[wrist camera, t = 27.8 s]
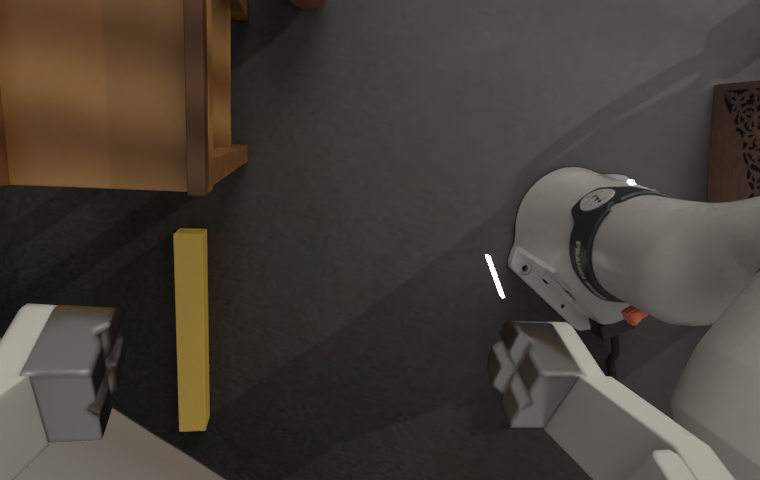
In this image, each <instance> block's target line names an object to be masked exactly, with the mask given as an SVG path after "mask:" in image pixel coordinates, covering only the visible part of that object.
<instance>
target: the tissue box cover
mask: <svg viewBox="0 0 760 480" xmlns="http://www.w3.org/2000/svg"><path fill="white" fill-rule="evenodd" d="M758 196H760V81H750V82H740V83H730V84H721V85H715V86H714V101H713V116H712V132H711V147H710V162H709V177H708V192H707V203H724V202H733V201H738V200H744V199H749V198H753V197H758Z"/></svg>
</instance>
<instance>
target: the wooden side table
mask: <svg viewBox="0 0 760 480" xmlns="http://www.w3.org/2000/svg"><path fill="white" fill-rule="evenodd" d="M231 19H235V20H245V21H248V20H249V3H248V0H0V187H1V186H6V185H30V186H55V187H80V188H105V189H130V190H155V191H180V192H187V194H188V195H194V196H205V195H206V194H207V193H209V192H210V191H212V190H213V185H214V184H216V183H217V182H218V181H220V180H221V179H223V178H224V177H226V176H227V175H229V174H230V173H231V172H233V171H234V170H236V169H237V168H239V167H240V166H242V165H243V164H245V163H246V162H247V161H248V145H235V144H231Z"/></svg>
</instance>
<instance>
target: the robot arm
mask: <svg viewBox="0 0 760 480" xmlns="http://www.w3.org/2000/svg"><path fill="white" fill-rule="evenodd" d="M485 257H486V259H487V262H488V265H489V268H490V270H491V273H492V276H493V279H494V281H495V284H496V287H497V290H498V292H499V295H500V297H502V298H505V296H504V293H503V290H502V288H501V285H500V282H499V279H498V277H497V274H496V271H495V268H494V265H493V263H492V260H491V257H490V256H489V255H488V254H486V255H485ZM524 265H526V268H525V269H524V270H522V267H523V266H524ZM508 266H509V268H510V269H511V270H512V271H513V272H514V273H515V274H517V275H518V276H519V277H520V278H521V279H522V280H523V281H524V282H525V283H526V284H527V285H528V286H529V287H530V288H531V289H533V290H534V291H535V292H536V293H537V294H538V295H539V296H540V297H541V298H542V299H543V300H544V301H545V302H546V303H547V304H548V305H550V306H551V307H552V308H553V309H554V310H555V311H556V312H557V313H558V314H559V315H560V316H561V317H562V318H563V319H564V320H565V321H567V322H568V323H569V324H568V323H567V322H535V321H508V322H506V323H505V324H504V325H503V327H502V329H501V330H500V332H499V333H500V335H501V338H502V340H500V341H499V342H497V343H496V344H495V345H493V347H492V349H491V351H490V353H489V356H488V372H489V377H490V379H491V382H492V384H493V386H494V387H495V388H496V389H498V390H499V391H500V392H501V393H502V398H501V401H500V403H501V405H502V408H503V410H504V412H505V415H506V417H507V419H508V422H509V424H510V426H511V428H545V429H544V430H545V431H546V432H547V433H548V434H549V435H550V436H551V437H552V438H553V439H554V440H555V441H556V442H557V443H558V444H559V445H560V446H561V447H562V448H563V449H564V450H565V451H566V452H567V453H568V454H569V455H570V457H571V458H572V459H573V460H574V461H575V462H576V463H577V464H578V465H579V466H580V467H581V468H582V469H583V470H584V471H585V472H586V473H587V474H588V475H589V476H590V477H591V478H592V479H593V480H760V196H758V197H753V198H749V199H744V200H738V201H733V202H724V203H705V202H695V201H687V200H680V199H673V198H672V197H670V196H668V195H666V194H664V193H661V192H657V191H656V190H653V189H649V188H646V187H643V186H639V185H636V184H635V181H634V180H630V179H629V178H628V177H627V176H624V175H621V174H606V175H603V174H599V173H596V172H594V171H591V170H589V169H585V168H580V167H567V168H562V169H558V170H555V171H553V172H551V173H549V174H547V175H545V176H544V177H542V178H541V179H540V180H539V181H537V182H536V183H535V184H534V185H533V186H532V187H531V189H530V190H529V191H528V192H527V194H526V195H525V197H524V199H523V200H522V202H521V205H520V207H519V210H518V213H517V217H516V224H515V242H514V245H513V247H512V249H511V252H510V254H509V258H508ZM648 314H649V315H651V316H652V317H654V318H656V319H658V320H660V321H663V322H665V323H669V324H674V325H682V326H703V325H709V324H713V325H712V327H711V328H710V329H709V330H708V331H707V333H706V334H705V335H704V336H703V338H702V339H701V340H700V341H699V342H698V344H697V345H696V347H695V349H694V351H693V352H692V354H691V356H690V358H689V360H688V362H687V364H686V366H685V368H684V370H683V372H682V374H681V376H680V378H679V380H678V382H677V385H676V387H675V389H674V391H673V393H672V395H671V398H670V400H669V403H670V408H671V413H672V416H673V419H674V421H673V420H672V419H670V418H669V417H668V416H666V415H665V414H663V413H662V412H660V411H659V410H658V409H656V408H655V407H653V406H652V405H651V404H649V403H648V402H646V401H645V400H644V399H642V398H641V397H639V396H638V395H636V394H635V393H634V392H632V391H631V390H629V389H628V388H627V387H625V386H624V385H622V384H621V383H620V382H618V381H617V380H616V373H615V359H617V358H618V356H619V338H618V334H620V333H623V332H625V331H628V330H630V329H632V328H635V325H637V324H638V323H639V322H640V320H641V319H643V318H644V317H647V316H648ZM121 324H122V319H121V313H120V310H119V309H118V308H108V307H90V306H72V305H43V304H26V305H25V306H23V307H22V308H21V309H20V310H19V311H18V313H17V314H16V316H15V318H14V319H13V321H12V323H11V324H10V326H9V328H8V329H7V331H6V333H5V334H4V336H3V338H2V339H1V341H0V480H14V479H15V478H16V477H17V476H18V475H19V474H20V473H21V472H22V471H23V470H24V469H25V468H26V467H27V466H28V465H29V464H30V463H31V462H32V461H33V460H34V459H35V458H36V457H37V456H38V455H39V454H40V453H41V452H42V451H43V450H44V449H46V448H47V447H48V443H50V442H68V441H86V440H102V438H103V435H104V432H105V429H106V425H107V422H108V419H109V416H110V413H111V410H112V404H111V397H110V394H111V393H112V392H113V391H115V390H116V389H117V388H118V387H119V383H120V380H121V376H122V372H123V366H124V359H125V345H124V339H123V338H122V337H121V336H120V335H119V334H118V333H119V330H120V327H121ZM574 328H575V329H577V330H588V329H591V331H592V332H593V333H594V334H596V335H597V336H599V337H600V338H601V339H603V340H606V339H608V338H611V349H612V350H611V354H610V355H609V356H608V376H605V375H604V374H603V372H602V371H601V369H600V367H599V366H598V364H597V363H596V361H595V360H594V358H593V357H592V355H591V354H590V352H589V351H588V349H587V348H586V346H585V345H584V343H583V342H582V340H581V339H580V337H579V336H578V334H577V333H576V331H575V330H574Z"/></svg>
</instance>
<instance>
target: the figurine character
mask: <svg viewBox="0 0 760 480" xmlns="http://www.w3.org/2000/svg"><path fill="white" fill-rule="evenodd" d="M289 1H290V2H291V3H293V4H294V5H295V6H297V7H299V8H302V9H315V8H318V7H320V6H321V5H323V4H324V3H325V2H326V0H289Z"/></svg>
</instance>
